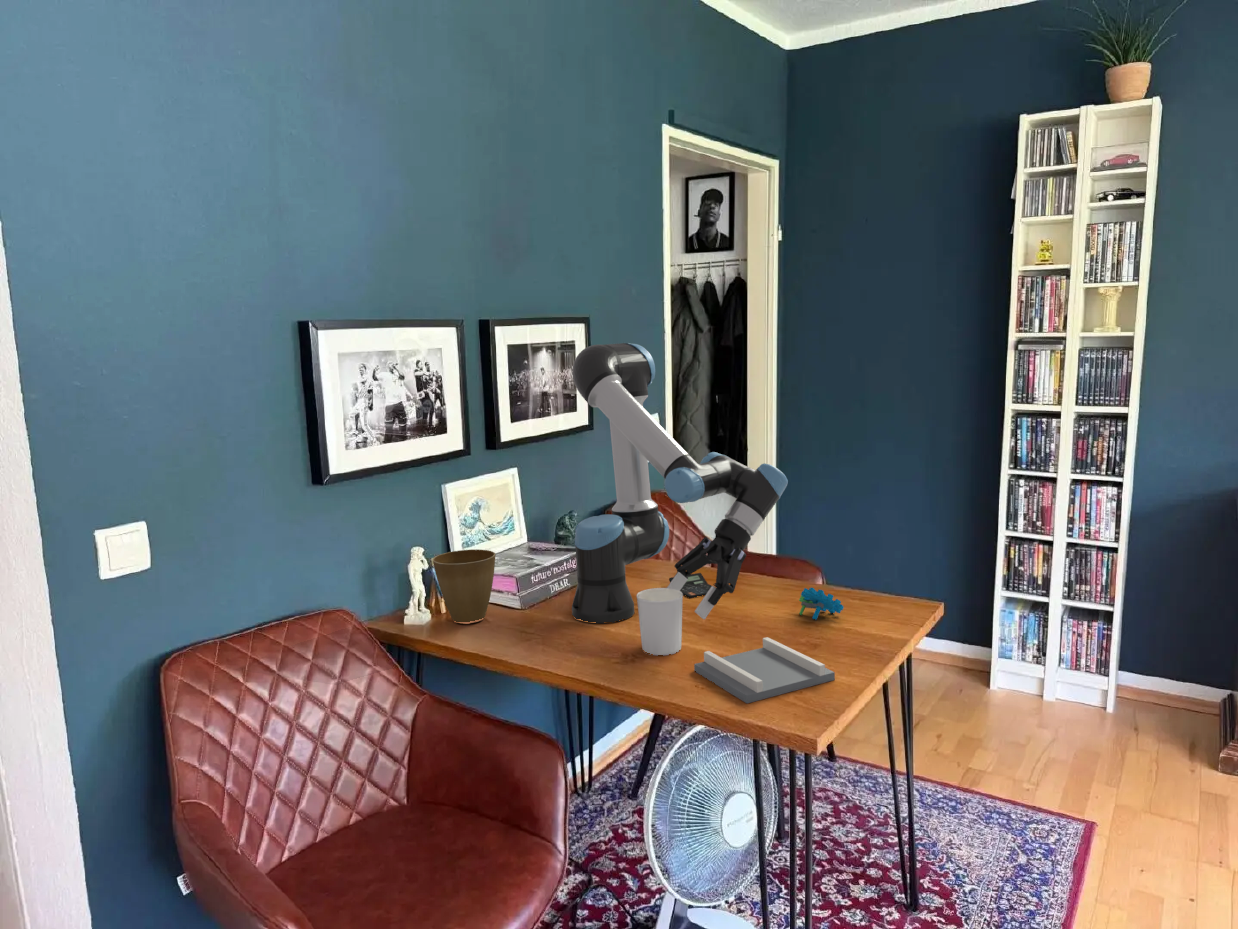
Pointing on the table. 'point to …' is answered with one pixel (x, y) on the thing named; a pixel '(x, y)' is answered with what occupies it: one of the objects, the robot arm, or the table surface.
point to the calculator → (695, 586)
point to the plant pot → (465, 582)
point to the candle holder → (660, 620)
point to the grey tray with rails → (763, 671)
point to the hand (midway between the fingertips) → (682, 607)
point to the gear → (819, 602)
